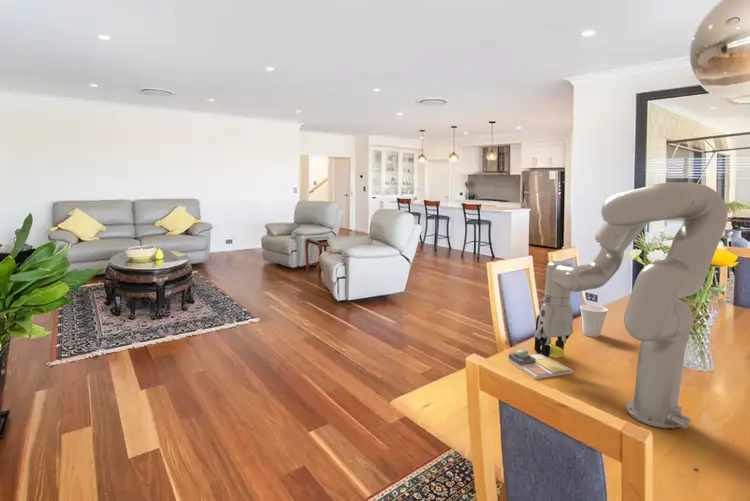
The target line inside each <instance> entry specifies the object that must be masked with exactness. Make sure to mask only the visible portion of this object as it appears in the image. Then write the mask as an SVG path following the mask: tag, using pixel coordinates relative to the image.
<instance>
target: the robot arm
mask: <svg viewBox="0 0 750 501" xmlns="http://www.w3.org/2000/svg"><path fill="white" fill-rule="evenodd" d="M601 206H602V207H601V211H600V212H601V213H600V214H601V217H602V219H603V221H604V222H603V223H602V225H601V226H600V228H598V230H596V233H595V235H594V240H595V241H596V243H597V244H598V245H599V247H600V251H599V252H598V254H596V256H595V258H594V259H592V261H591V262H590V263H589V264H582V265H574V266H573V265H572V263H570V262H568V261H562V260H552V261H549V262H548V263H547V265H546V274H545V286H544V295H543V296H544V297H542V298H541V301H542V303H541V304H542V305H541V307H540V312H539V314H540V315H539V314H538V315H539V322H538V329H537V330H536V329H535V332H533V336H534V338H535V337H537V338H538V339H539V340H540V342H541V343H542V348H541V353H540V354H542V355H544V356H546V357H550V356H549V355H550V345H549V342H550V339H551V340H552V338H556V339H557V340H555V344H554V345H555V346H557V347H559V348H562V349H563V351H564V348H565V344H566V343H567V340H568V339H569V338H570V336H571V335H572V334H573V333H574V330H573V327H574V326H573V324H574V323H573V322H574V321H573V319H574V316H573V308H572V307H573V306H572V304H571V292H573V293H577V292H583V291H584V292H585V291H588V290H590V291H591V290H594V289H599V288H602V287H603V286H604V285H606V284H607V283H608V282H609V281H610V280H611V279H612V278H613V277H614V275H615V274H616V272H618V270H619V269H620V267H621V265H622V262H623V259H624V254H625V251H626V250H627V248H628V247H629V246H630V245H631V244H632V242H633V241H634V240H635V239H636V238H637V236H639V234H641V232H642V231H643V230H644V228H645V227H646V226H647V225H648V223H651V222H652V223H653V222H661V221H669V220H670V221H671V220H683V222H682V224H681V226H680V228H679V229H678V231H677V232H676V234H675V235H674V236H673V239H672V243H671V244H670V245H671V246H670V248H669V250H668V253H667V255H666V257H665V258H664V259H659V260H655V261H652V262H650V263H647V264H646V265H645V266H644V267H643V268H642V269H641V270H640V272H639V273H638V275H637V277H636V279H635V282H634V285H633V287H632V290H631V293H630V296H629V299H628V302H627V304H626V307H625V310H624V314H623V324H624V327H625V329H626V331H627V333H628V334H629V335H630V336H631V337H633V338H634V339H635V340H637V341H640V346H639V352H638V356H637V357H638V359H637V367H636V375H635V382H634V383H635V384H634V391H633V392H634V393H633V399H632V400H628V401H627V402H626V404H625V411H626V412H627V414H629V416H631V417H632V418H633V419H635V420H637V421H638V422H640V423H643V424H645V425H648V426H651V427H656V428H659V427H660V429H667V428H672V429H677V428H676V427H678V428H682V429H684V430H686V429H688V428H689V426H690V424H691V421H692V420H691V418H690V417H688V416H686V415H684V414H683V413H682V410H683V407H682V406H680V405H679V399H680V393H681V392H680V391H681V382H682V376H683V369H684V368H683V367H684V363H685V362H684V361H685V355H686V354H685V353H686V349H687V344H688V341H689V337H690V334H691V332H692V328H693V324H694V315H693V312H692V310H691V308H690V307H689V305H688V304H687V303H686V302H685V301H683V300H681V299H682V298H686V297H690V296H693V295H695V294H697V293H698V292H699V291H700V289H701V288H702V287H703V284H704V282H705V278H706V277H707V274H708V272H709V269H710V267H711V264H712V261H713V259H714V257H715V254H716V252H717V251H716V250H717V248H718V246H719V244H720V242H721V239H722V237H723V234H724V232H725V231H726V230H725V229H726V226H727V223H728V209H727V208H728V207H727V205H726V202H725V200H724V199H723V197H722V196H721V195H720V194H719V193H718V192H717V191H716V190H715V189H713V188H711V187H709V186H707V185H704V184H702V183H697V182H662V183H657V184H652V185H647V186H643V187H638V188H634V189H629V190H625V191H619V192H617V193H614V194H611V195H609V196H608V198H606V199H605V201H604V202H603V204H602V205H601ZM541 333H542V336H541ZM545 337H546V340H545ZM564 352H565V351H564ZM679 426H680V427H679Z"/></svg>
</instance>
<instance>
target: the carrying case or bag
mask: <svg viewBox="0 0 750 501" xmlns="http://www.w3.org/2000/svg"><path fill="white" fill-rule="evenodd" d="M539 315H540V313H539V314H538V315H537V316H536V321H535V331H536V330H537V329H538V322H539ZM541 336H542V333H541ZM545 340H546V337H545ZM551 342H552V338H551V339H550V342H549V344H552V343H551ZM541 345H542V343H541V342H540V340H539V339H538V338H537V337H535V336H534V347H533V348H534V351H535V352H536V354H541V348H540V347H541Z"/></svg>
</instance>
